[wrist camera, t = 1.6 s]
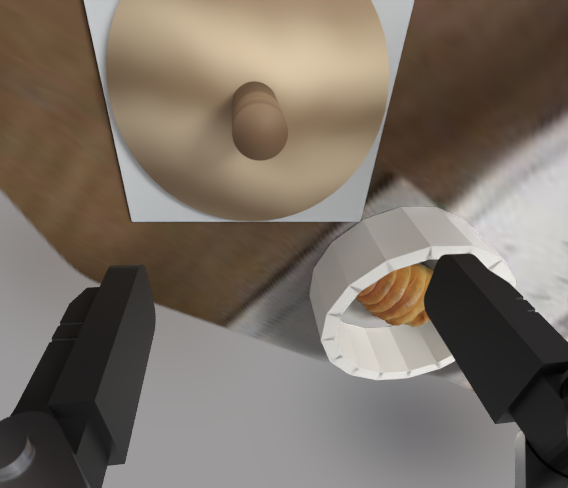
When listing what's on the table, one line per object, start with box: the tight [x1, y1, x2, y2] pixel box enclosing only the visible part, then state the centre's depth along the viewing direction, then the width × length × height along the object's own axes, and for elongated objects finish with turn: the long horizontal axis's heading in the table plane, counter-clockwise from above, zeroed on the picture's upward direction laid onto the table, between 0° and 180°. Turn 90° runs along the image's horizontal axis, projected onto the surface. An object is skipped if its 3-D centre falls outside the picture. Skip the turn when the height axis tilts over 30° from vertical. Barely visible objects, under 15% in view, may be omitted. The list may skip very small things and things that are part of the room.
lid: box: [106, 0, 389, 222], centre depth 20 cm, size 17×17×6 cm
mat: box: [84, 0, 414, 222], centre depth 22 cm, size 18×18×1 cm
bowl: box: [309, 207, 516, 380], centre depth 31 cm, size 16×16×6 cm
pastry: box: [356, 263, 434, 327], centre depth 32 cm, size 9×7×4 cm
